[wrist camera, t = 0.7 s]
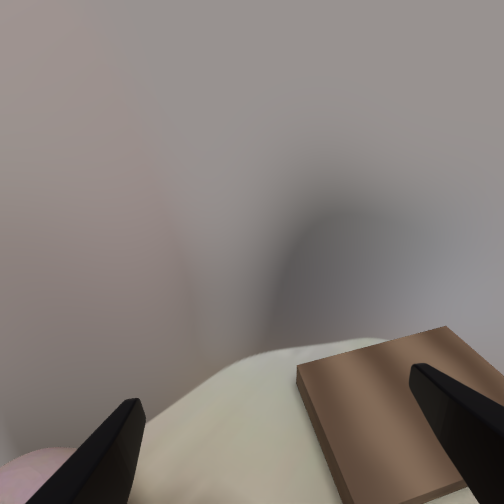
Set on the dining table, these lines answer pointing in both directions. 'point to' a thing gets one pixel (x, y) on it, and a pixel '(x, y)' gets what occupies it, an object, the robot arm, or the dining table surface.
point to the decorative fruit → (30, 473)
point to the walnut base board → (389, 416)
